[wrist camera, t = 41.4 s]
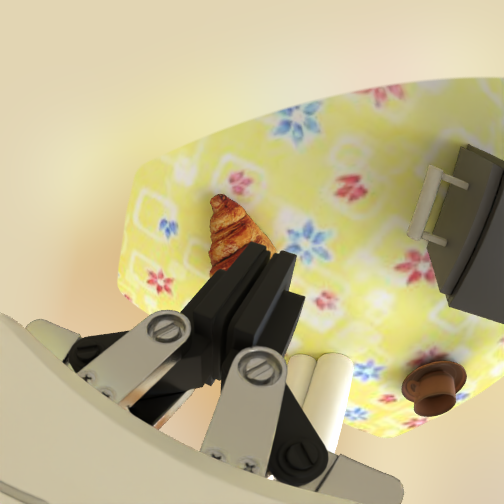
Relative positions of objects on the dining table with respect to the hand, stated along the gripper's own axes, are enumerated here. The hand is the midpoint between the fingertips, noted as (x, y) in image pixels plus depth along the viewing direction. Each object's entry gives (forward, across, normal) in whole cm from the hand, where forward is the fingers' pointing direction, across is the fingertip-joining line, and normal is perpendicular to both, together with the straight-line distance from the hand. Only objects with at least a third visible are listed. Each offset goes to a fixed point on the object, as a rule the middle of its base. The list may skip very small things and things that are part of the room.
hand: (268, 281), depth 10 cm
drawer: (+22, -18, 0) cm, 29 cm away
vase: (+23, -7, +33) cm, 41 cm away
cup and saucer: (+23, -27, +28) cm, 45 cm away
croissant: (+23, +8, +16) cm, 29 cm away
